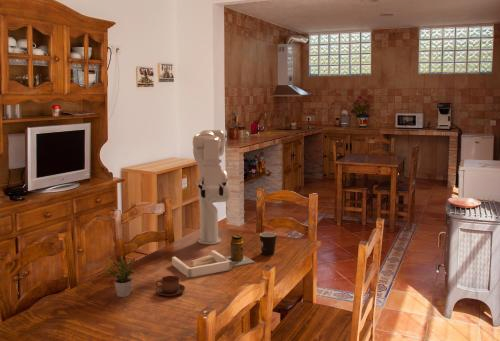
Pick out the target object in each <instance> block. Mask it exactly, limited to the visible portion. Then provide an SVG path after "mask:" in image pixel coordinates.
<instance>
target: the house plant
mask: <svg viewBox="0 0 500 341" xmlns="http://www.w3.org/2000/svg"><path fill="white" fill-rule="evenodd" d="M138 257H140V256H139V255H138V256H135V257H134V258H132V257H131V258H129V259H128V260H127V258H125V259H124V257H123V255H120V263H119V261H117V260H116V259H114V260H112V259H109V261H110V262H111V263H113V265H115V266H113V268H115V267H116V268H115V269H116V270H117V271H118V272H117V271H116V270H114V269H112V268H109V267H104V269H105V270H107V271H108V273H107V274H106V276H108V275H114V276H115V277H116V279H114V285H115V291H116V294H117V297H119V298H125V297H128V296H130V294H131V289H132V281H133V280H132V278H131V277H130V276H131V275H135V273H136V272H135V271H136V269H134V268H132V267H133V263H134V261H135V260H136V259H137V258H138ZM128 262H129V263H128ZM127 264H128V266H127ZM108 265H110V266H111V264H110V263H108ZM134 270H135V271H134Z"/></svg>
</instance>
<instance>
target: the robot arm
mask: <svg viewBox="0 0 500 341" xmlns="http://www.w3.org/2000/svg"><path fill="white" fill-rule="evenodd" d="M225 145H226V136H225V132H224V131H223V130H221V129H204V130H201V131H200V132H199V133H198V134H195V135H193V137H192V151H193V152H192V154H193V158H194V161H195V163H196V165H197V168H198V175H199V179H198V180H196V181H195V184H196V186H197V188H198V191H197V194H198V195H197V196H198V200H199V213H200V214H199V215H200V217H199V220H200V233H199V234H200V238H198V240H197V243H198V244H200V245H208V246H210V245H217V244H219V243H221V241H222V239H221V238H220V237H219V220H218V218H219V216H218V208H217V207H216V206H215V205H214V203H227V202H229V201H230V200H231V188H230V180H229V175H228V172H227V171H226V170H224V169H222V166H221V164H220V163H222V159H220V157H222V156H223V155H224V153H225Z"/></svg>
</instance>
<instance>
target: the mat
mask: <svg viewBox="0 0 500 341" xmlns="http://www.w3.org/2000/svg"><path fill="white" fill-rule="evenodd" d="M225 257H226V258H231V255H229V256H225ZM243 258H244V259H247V260H244V261H240V262H236V263H232V268H236V267H240V266H246V265H250V264H251V265H252V264H255V263H256V261H255V260H252V259H251V258H249V257H248V256H246V255H244V254H243Z"/></svg>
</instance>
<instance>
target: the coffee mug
mask: <svg viewBox="0 0 500 341" xmlns="http://www.w3.org/2000/svg"><path fill="white" fill-rule="evenodd" d="M276 240H277V233H275V232H269V231H267V232H266V231H265V232H260V234H259V242H260V250H261V255H264V256H273V255H274V254H275V250H276V249H275V248H276V243H277V242H276Z"/></svg>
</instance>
